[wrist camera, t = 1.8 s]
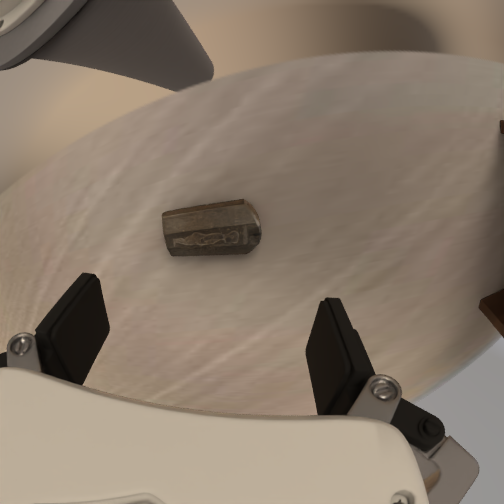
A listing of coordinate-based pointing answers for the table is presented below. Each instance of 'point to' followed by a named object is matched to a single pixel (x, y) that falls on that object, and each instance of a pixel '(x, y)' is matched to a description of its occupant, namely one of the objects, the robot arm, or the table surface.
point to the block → (212, 229)
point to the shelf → (495, 299)
